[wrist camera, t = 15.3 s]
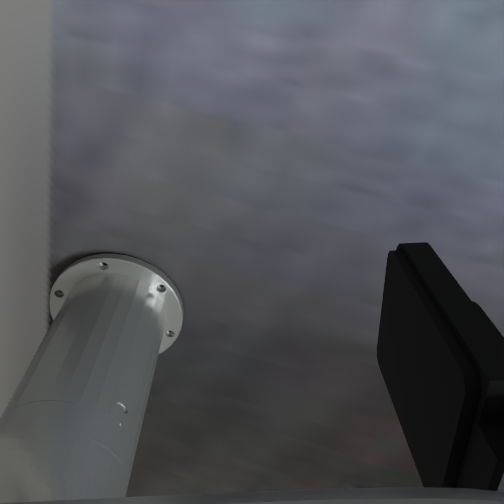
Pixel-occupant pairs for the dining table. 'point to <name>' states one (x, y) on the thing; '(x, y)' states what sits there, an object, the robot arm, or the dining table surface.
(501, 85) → the dining table surface
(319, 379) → the dining table surface
